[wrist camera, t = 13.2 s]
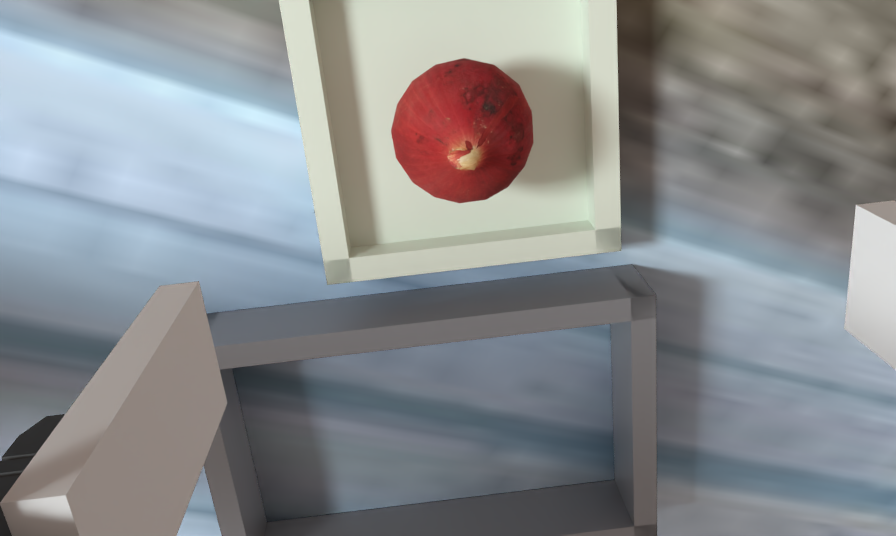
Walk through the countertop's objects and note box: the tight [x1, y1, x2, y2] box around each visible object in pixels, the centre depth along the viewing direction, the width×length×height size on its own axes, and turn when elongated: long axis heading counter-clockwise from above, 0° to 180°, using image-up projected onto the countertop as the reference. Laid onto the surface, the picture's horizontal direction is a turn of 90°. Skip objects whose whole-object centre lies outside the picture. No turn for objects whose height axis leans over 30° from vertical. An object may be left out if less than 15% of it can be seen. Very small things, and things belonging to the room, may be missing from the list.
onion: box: [391, 58, 534, 203], centre depth 32 cm, size 6×6×8 cm
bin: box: [204, 264, 657, 536], centre depth 41 cm, size 22×14×4 cm, turn 96°
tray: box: [279, 0, 621, 285], centre depth 35 cm, size 14×14×2 cm
